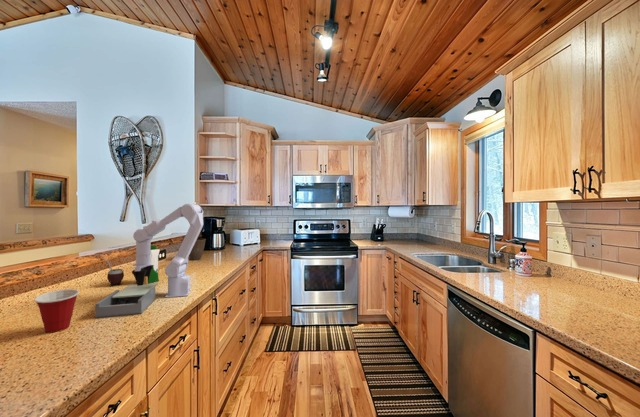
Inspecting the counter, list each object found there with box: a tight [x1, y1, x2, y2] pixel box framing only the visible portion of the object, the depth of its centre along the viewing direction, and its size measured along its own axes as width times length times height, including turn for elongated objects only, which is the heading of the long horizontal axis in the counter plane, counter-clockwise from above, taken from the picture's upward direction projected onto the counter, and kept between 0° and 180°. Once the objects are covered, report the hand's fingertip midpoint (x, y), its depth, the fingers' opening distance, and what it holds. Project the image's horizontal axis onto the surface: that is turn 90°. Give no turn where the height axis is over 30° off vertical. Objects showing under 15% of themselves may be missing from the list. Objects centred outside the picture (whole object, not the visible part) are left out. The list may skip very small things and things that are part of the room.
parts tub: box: [94, 287, 156, 319], centre depth 108 cm, size 15×17×5 cm
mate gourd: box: [101, 258, 125, 288], centre depth 139 cm, size 8×8×15 cm
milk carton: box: [147, 244, 161, 284], centre depth 146 cm, size 9×9×20 cm
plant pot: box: [188, 238, 207, 261], centre depth 210 cm, size 15×15×16 cm
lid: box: [112, 277, 159, 298], centre depth 117 cm, size 12×17×4 cm
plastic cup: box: [34, 288, 80, 334], centre depth 89 cm, size 11×11×12 cm
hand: (143, 283), depth 124 cm, fingers open, 7 cm apart
